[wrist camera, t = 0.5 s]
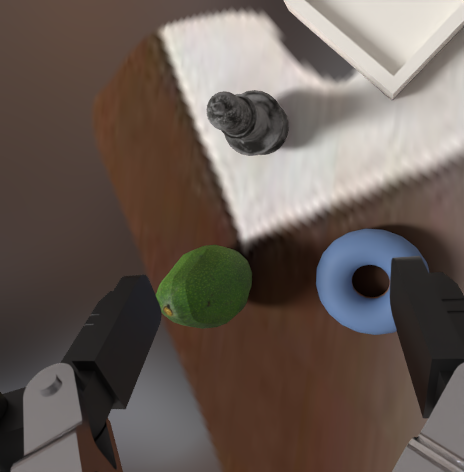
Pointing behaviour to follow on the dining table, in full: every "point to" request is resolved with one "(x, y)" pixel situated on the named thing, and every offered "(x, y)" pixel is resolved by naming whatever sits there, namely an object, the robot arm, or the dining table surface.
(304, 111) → the dining table surface
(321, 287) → the doughnut
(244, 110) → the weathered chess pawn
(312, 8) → the ceramic dish
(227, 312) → the avocado
